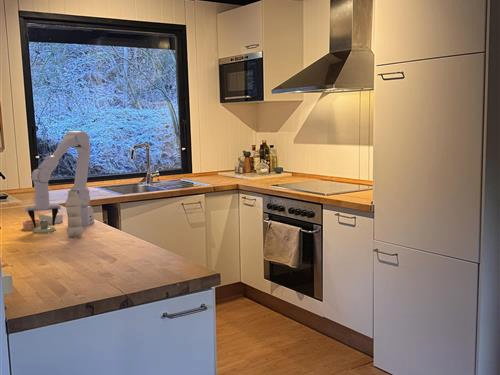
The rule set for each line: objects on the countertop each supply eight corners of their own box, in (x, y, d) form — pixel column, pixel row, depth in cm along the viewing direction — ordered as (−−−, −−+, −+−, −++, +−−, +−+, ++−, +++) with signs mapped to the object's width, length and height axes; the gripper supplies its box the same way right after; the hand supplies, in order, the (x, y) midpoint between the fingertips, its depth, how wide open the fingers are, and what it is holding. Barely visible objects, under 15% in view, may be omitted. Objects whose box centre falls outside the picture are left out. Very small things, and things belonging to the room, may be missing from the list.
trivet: (61, 229, 238) (60, 228, 238) (48, 235, 228) (48, 233, 228) (41, 229, 240) (41, 228, 240) (27, 234, 230) (27, 233, 230)
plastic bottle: (85, 235, 227) (82, 189, 224) (80, 238, 220) (77, 191, 218) (70, 235, 227) (67, 189, 224) (65, 239, 220) (62, 192, 217)
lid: (59, 229, 238) (58, 218, 237) (48, 233, 229) (47, 222, 228) (41, 228, 239) (40, 218, 239) (29, 232, 231) (28, 222, 230)
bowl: (46, 227, 244) (45, 219, 243) (35, 231, 236) (35, 223, 236) (30, 226, 245) (30, 219, 245) (20, 230, 238) (19, 223, 237)
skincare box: (49, 211, 260) (62, 214, 252) (50, 219, 261) (63, 223, 253) (38, 213, 255) (51, 216, 248) (38, 222, 256) (51, 225, 248)
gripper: (58, 193, 238) (60, 223, 240) (24, 196, 233) (26, 226, 235) (59, 195, 232) (62, 226, 234) (24, 198, 226) (26, 229, 228)
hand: (44, 226), depth 234 cm, fingers open, 7 cm apart
